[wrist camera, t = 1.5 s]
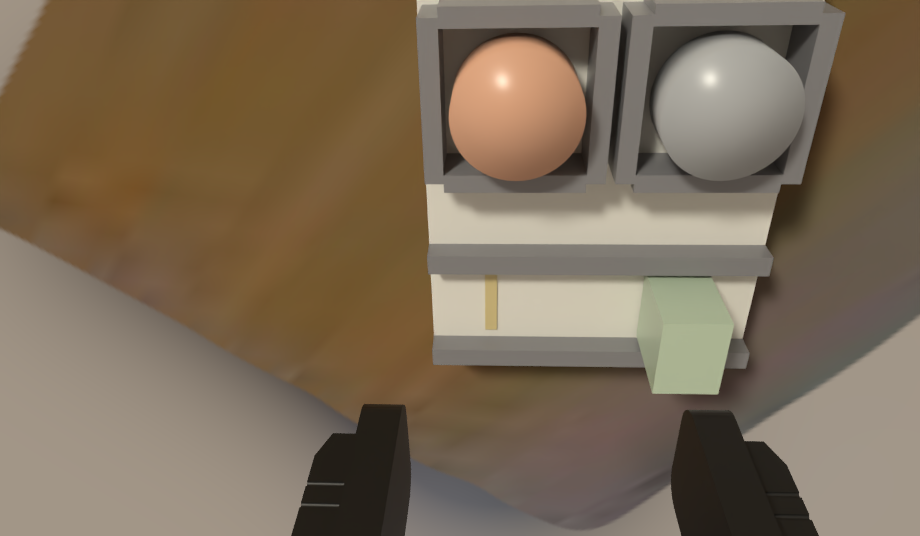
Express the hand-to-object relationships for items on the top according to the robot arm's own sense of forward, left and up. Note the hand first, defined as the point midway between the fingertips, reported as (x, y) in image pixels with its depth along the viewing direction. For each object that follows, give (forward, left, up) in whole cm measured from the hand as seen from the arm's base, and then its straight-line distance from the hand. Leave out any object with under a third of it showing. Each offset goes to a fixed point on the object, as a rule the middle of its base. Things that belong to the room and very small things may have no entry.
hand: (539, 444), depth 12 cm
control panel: (+5, +4, -23) cm, 24 cm away
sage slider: (+11, +8, -20) cm, 24 cm away
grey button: (0, +8, -19) cm, 21 cm away
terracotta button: (0, 0, -19) cm, 19 cm away
